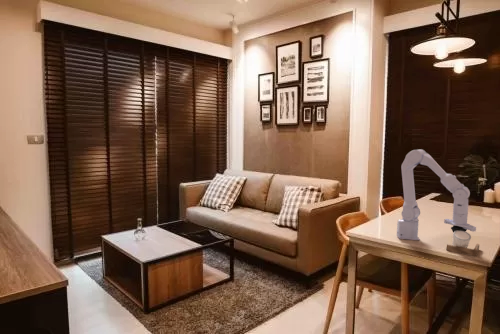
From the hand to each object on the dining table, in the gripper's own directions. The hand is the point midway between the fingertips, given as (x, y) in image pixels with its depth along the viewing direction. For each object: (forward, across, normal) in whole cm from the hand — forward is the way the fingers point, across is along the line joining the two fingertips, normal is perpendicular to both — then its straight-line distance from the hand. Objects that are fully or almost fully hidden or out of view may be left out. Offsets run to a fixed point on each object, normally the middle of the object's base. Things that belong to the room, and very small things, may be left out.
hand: (458, 242), depth 154 cm
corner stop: (+2, +7, -2) cm, 8 cm away
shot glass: (+1, +2, -2) cm, 3 cm away
